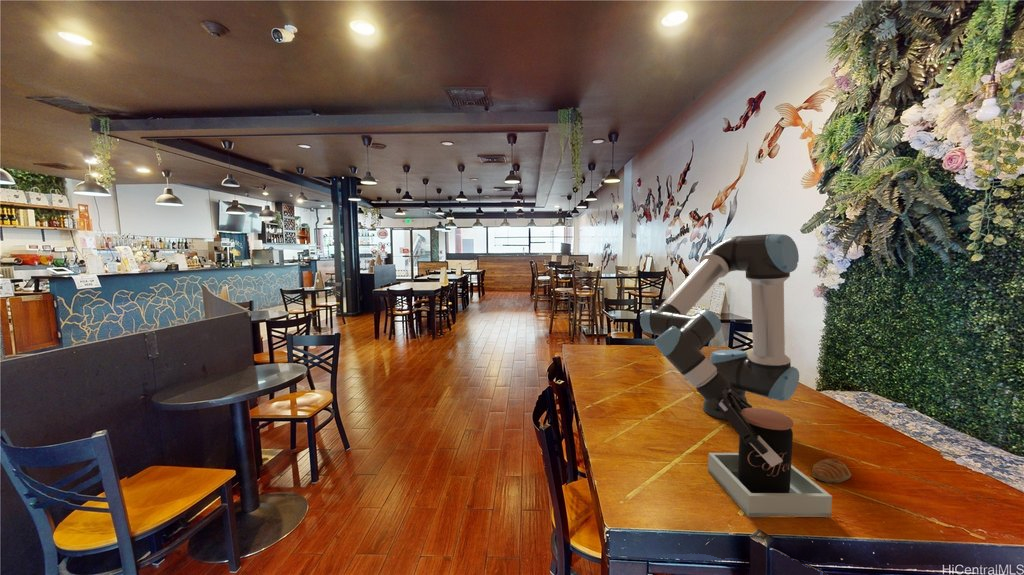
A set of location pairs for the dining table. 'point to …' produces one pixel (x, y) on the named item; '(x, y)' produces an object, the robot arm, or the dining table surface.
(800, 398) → the dining table surface
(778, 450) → the coffee jar
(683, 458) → the dining table surface
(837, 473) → the pastry
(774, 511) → the tray
